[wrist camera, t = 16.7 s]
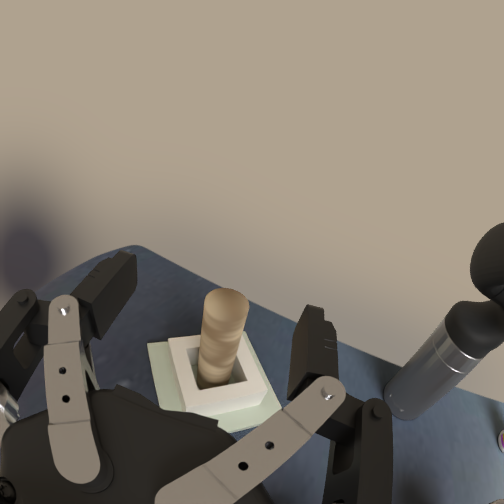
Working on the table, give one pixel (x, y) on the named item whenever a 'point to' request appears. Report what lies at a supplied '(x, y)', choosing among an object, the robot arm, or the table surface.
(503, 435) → the supplement bottle
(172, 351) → the socket
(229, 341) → the peg
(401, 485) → the table surface
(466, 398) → the table surface
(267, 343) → the table surface
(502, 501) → the pillar candle
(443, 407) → the table surface
